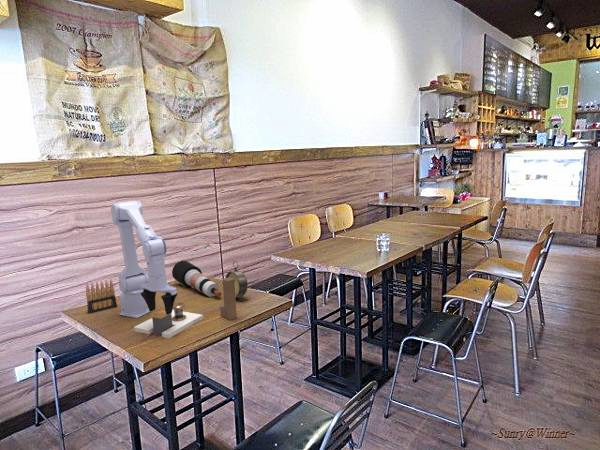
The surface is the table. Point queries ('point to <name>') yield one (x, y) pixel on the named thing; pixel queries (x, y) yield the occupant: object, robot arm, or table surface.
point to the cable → (194, 278)
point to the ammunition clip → (100, 297)
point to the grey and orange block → (161, 322)
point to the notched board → (177, 325)
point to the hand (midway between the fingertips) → (160, 311)
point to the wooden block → (228, 299)
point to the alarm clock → (238, 282)
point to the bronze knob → (178, 312)
